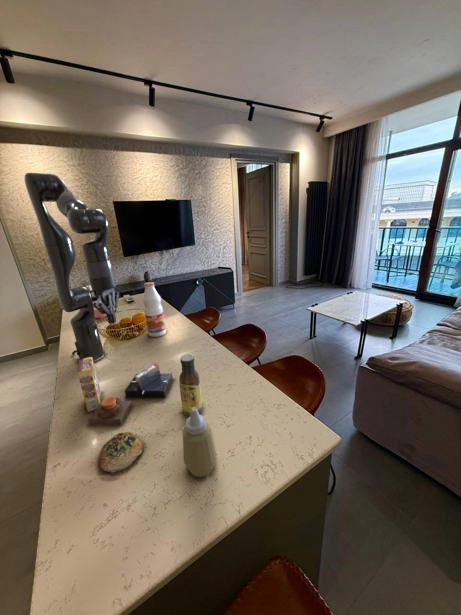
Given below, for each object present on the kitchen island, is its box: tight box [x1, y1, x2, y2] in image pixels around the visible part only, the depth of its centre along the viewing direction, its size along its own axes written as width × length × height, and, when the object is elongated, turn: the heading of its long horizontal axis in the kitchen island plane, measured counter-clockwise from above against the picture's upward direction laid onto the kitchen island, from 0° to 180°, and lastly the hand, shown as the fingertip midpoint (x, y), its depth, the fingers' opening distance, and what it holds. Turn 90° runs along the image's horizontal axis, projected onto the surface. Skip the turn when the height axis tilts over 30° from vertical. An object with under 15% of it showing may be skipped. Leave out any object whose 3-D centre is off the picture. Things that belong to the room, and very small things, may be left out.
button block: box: [88, 397, 133, 426], centre depth 81 cm, size 10×8×4 cm
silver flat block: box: [134, 362, 161, 389], centre depth 91 cm, size 9×2×5 cm, turn 146°
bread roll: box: [98, 431, 144, 474], centre depth 67 cm, size 11×11×5 cm
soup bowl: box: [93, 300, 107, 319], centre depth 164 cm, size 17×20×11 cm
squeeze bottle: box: [182, 407, 217, 478], centre depth 60 cm, size 8×8×18 cm
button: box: [101, 396, 117, 410], centre depth 80 cm, size 4×4×2 cm
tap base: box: [124, 373, 174, 399], centre depth 93 cm, size 14×13×3 cm
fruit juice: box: [142, 281, 167, 338], centre depth 132 cm, size 9×9×28 cm
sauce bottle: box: [178, 353, 203, 417], centre depth 78 cm, size 6×6×20 cm
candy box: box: [76, 357, 102, 412], centre depth 85 cm, size 9×4×15 cm, turn 26°
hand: (112, 322), depth 89 cm, fingers closed
